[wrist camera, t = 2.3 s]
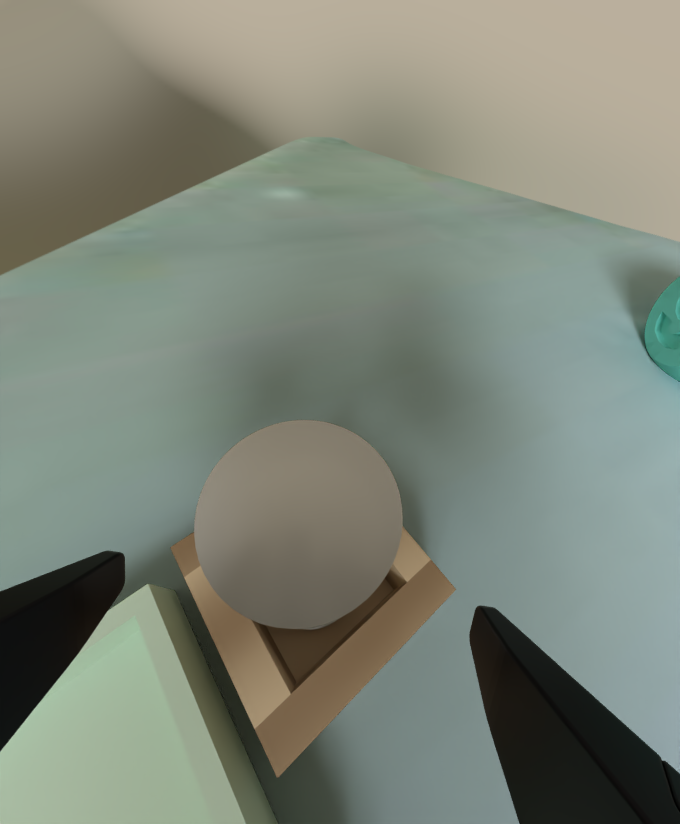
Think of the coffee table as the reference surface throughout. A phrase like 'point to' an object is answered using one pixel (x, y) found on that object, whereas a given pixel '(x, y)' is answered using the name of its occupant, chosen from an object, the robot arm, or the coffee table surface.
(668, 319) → the decorative dice
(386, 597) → the tan square frame block
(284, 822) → the coffee table surface
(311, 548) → the ball
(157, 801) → the parts tray
